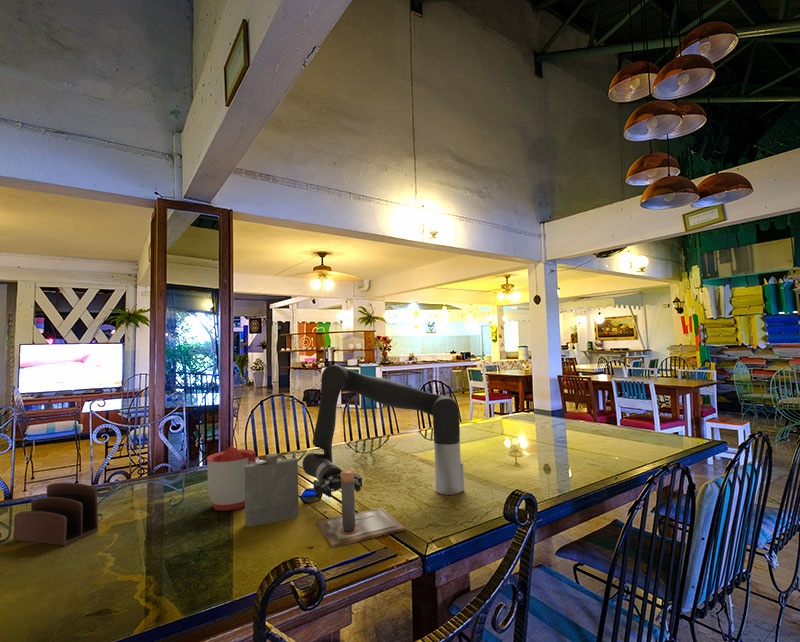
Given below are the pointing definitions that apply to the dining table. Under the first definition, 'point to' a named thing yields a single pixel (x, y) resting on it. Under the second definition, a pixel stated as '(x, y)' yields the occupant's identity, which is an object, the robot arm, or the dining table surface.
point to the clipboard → (359, 527)
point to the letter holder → (59, 515)
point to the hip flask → (271, 491)
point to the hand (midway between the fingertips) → (344, 490)
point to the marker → (348, 500)
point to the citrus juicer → (228, 477)
